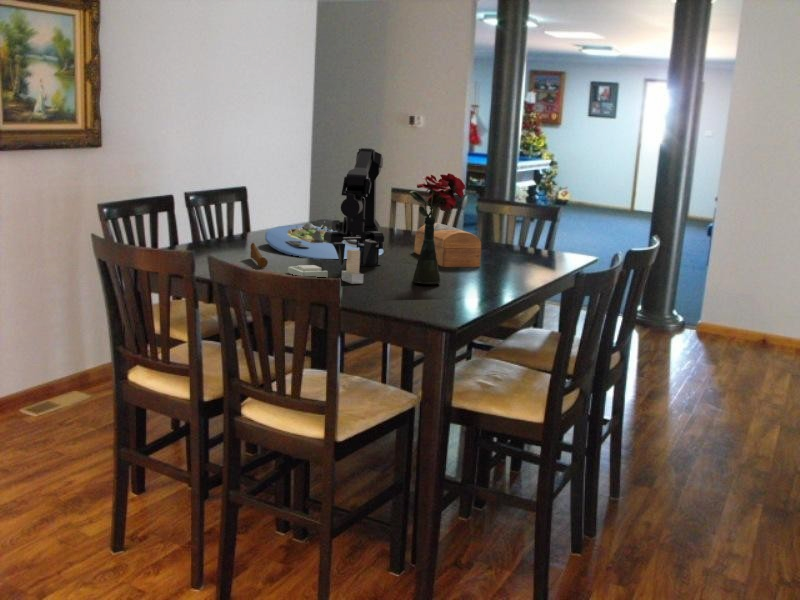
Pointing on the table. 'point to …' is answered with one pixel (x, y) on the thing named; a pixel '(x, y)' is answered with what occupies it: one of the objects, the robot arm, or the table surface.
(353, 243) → the serving platter
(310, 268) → the tile
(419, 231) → the wooden box
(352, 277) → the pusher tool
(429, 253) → the carnation
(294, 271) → the bay
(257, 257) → the primitive tool
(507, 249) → the table surface
